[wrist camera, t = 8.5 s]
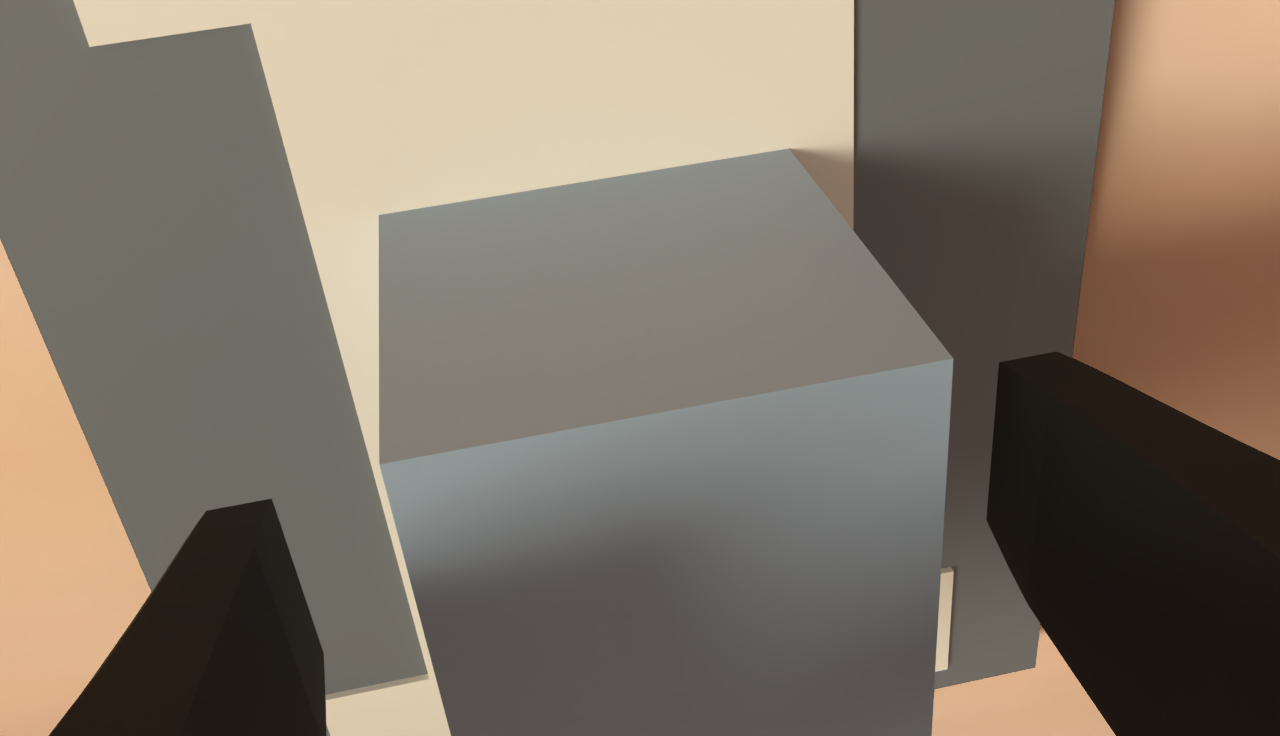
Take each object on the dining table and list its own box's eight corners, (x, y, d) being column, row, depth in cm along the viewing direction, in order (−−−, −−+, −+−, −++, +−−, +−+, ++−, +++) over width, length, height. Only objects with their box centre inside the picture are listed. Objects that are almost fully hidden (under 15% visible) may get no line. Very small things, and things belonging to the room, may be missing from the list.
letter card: (260, 791, 18) (255, 841, 17) (-163, -237, 11) (-205, -227, 10) (1012, 631, 19) (1038, 672, 19) (1117, -391, 12) (1167, -392, 11)
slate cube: (453, 538, 15) (478, 840, 11) (378, 214, 13) (378, 464, 9) (797, 471, 16) (931, 741, 12) (789, 148, 13) (953, 359, 9)
